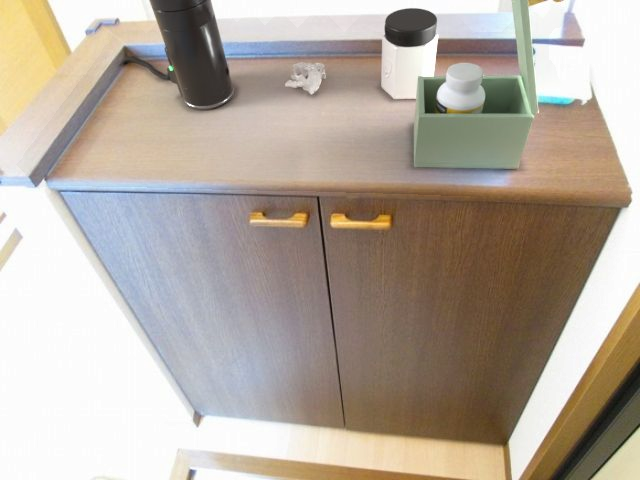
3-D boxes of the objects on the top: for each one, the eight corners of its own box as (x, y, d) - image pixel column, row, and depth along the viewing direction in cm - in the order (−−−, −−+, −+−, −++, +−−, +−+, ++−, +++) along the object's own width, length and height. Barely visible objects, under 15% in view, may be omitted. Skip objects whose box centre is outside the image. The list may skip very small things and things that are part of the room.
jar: (373, 82, 84) (374, 15, 75) (412, 69, 86) (417, 2, 76) (399, 106, 78) (403, 37, 69) (440, 92, 80) (449, 22, 71)
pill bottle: (422, 137, 71) (430, 67, 62) (458, 124, 73) (470, 54, 64) (447, 161, 67) (458, 90, 58) (484, 146, 69) (500, 75, 60)
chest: (414, 167, 68) (418, 116, 62) (413, 125, 75) (417, 76, 68) (517, 169, 66) (534, 117, 59) (508, 126, 72) (522, 75, 66)
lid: (519, -3, 49) (574, -21, 47) (506, -39, 55) (554, -57, 53) (531, 115, 59) (577, 103, 57) (519, 73, 66) (560, 61, 64)
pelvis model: (291, 54, 85) (326, 51, 84) (296, 75, 89) (330, 73, 87) (282, 77, 80) (319, 74, 79) (287, 98, 83) (323, 96, 82)
